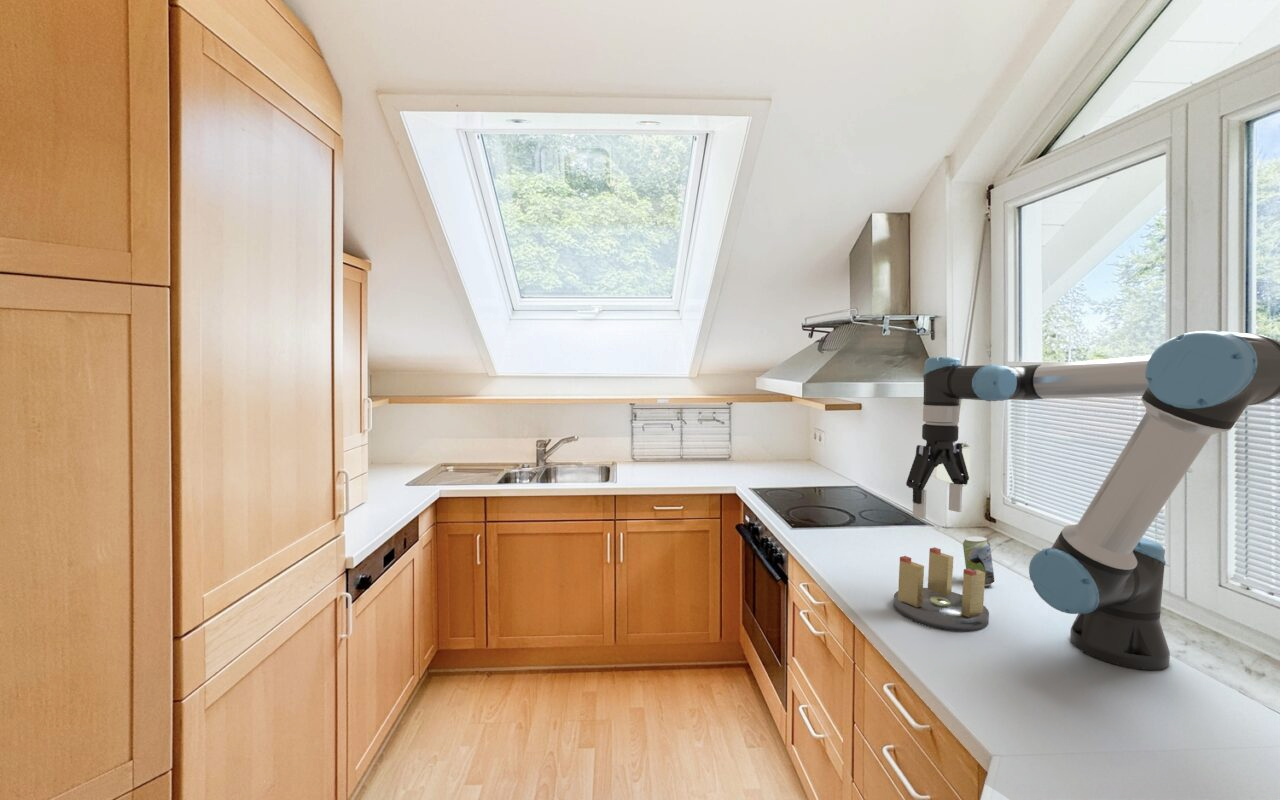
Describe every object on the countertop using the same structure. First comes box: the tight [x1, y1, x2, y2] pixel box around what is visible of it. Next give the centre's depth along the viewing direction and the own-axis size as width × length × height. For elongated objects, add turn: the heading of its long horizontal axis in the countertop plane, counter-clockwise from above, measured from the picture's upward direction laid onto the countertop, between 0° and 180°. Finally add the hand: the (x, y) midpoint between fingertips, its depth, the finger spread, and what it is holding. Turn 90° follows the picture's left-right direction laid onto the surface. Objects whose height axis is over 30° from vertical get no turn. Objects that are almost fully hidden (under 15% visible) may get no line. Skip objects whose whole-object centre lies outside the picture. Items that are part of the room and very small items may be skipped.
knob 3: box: [961, 568, 985, 618], centre depth 126 cm, size 5×2×10 cm, turn 119°
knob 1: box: [897, 555, 925, 607], centre depth 132 cm, size 5×2×10 cm, turn 29°
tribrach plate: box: [893, 587, 990, 633], centre depth 132 cm, size 19×19×3 cm
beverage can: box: [962, 535, 995, 587], centre depth 150 cm, size 6×7×12 cm
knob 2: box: [927, 547, 954, 596], centre depth 138 cm, size 5×2×10 cm, turn 29°
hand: (937, 514), depth 138 cm, fingers open, 13 cm apart
